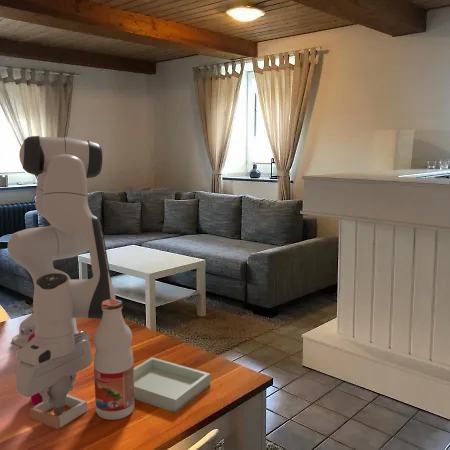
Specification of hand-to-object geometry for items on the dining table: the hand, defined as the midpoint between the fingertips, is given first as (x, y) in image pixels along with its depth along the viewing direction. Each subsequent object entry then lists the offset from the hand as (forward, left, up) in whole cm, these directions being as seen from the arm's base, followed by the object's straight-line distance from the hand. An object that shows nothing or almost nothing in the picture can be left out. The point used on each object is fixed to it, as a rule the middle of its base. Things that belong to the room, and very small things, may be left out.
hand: (58, 396), depth 120 cm
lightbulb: (0, 0, -5) cm, 5 cm away
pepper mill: (-9, +3, -5) cm, 11 cm away
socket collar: (0, 0, -5) cm, 5 cm away
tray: (+14, +23, -5) cm, 27 cm away
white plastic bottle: (+10, +8, -5) cm, 14 cm away
